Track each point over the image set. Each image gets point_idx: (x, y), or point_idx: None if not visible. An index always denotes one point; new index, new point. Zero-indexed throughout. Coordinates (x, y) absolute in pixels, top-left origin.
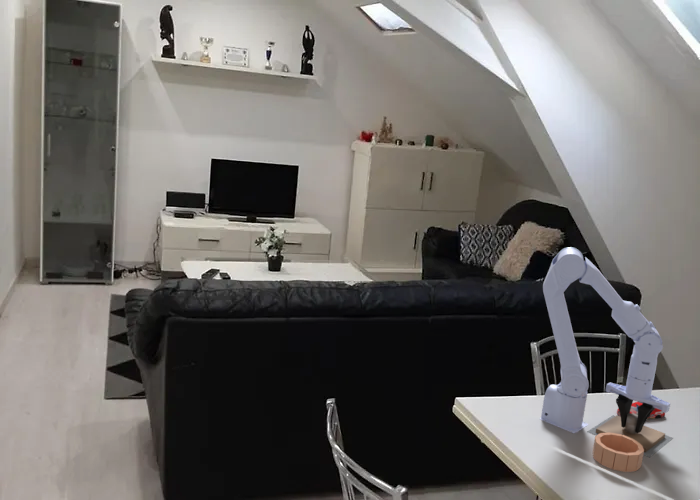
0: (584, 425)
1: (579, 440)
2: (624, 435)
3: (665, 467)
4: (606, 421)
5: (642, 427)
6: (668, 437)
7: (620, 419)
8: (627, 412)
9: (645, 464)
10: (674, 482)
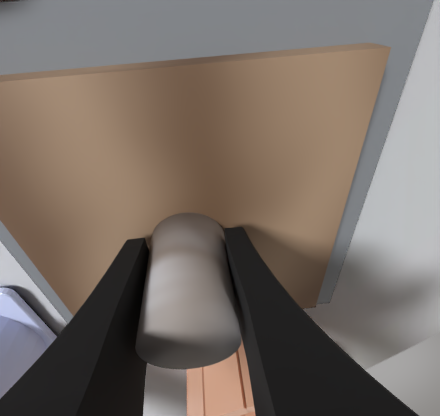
0: (17, 314)
1: None
2: (253, 405)
3: (381, 289)
4: None
5: (251, 242)
6: (400, 8)
7: (11, 149)
8: (128, 363)
9: (321, 317)
10: (407, 323)
